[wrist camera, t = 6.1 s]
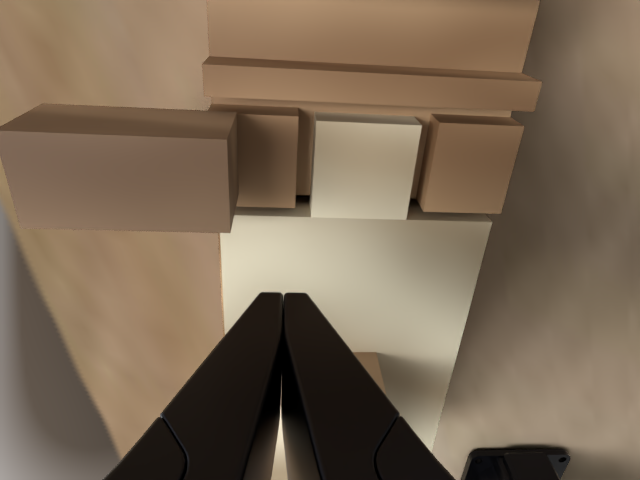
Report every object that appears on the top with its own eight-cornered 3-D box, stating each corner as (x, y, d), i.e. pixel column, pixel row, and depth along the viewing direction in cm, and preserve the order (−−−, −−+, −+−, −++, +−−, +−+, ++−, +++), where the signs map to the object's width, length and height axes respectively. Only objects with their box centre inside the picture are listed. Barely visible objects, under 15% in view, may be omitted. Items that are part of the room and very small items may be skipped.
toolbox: (398, 394, 27) (428, 511, 21) (239, 395, 27) (226, 516, 21) (486, -56, 17) (596, -70, 11) (225, -76, 16) (188, -103, 10)
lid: (411, 454, 24) (446, 588, 19) (236, 456, 23) (221, 597, 18) (491, 112, 15) (594, 183, 10) (222, 99, 15) (188, 169, 10)
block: (238, 193, 14) (230, 233, 12) (61, 188, 14) (20, 228, 12) (236, 112, 13) (226, 139, 11) (42, 103, 12) (-7, 130, 10)
